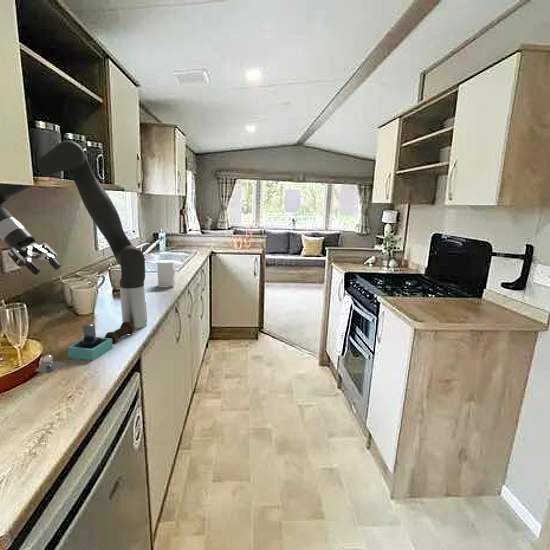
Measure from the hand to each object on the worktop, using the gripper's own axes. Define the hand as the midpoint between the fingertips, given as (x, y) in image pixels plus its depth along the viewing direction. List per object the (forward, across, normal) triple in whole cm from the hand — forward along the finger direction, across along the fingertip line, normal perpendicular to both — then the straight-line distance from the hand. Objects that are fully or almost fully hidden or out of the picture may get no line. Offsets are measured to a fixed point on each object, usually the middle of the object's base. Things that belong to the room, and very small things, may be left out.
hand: (48, 270), depth 123 cm
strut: (+30, -2, +9) cm, 31 cm away
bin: (+30, -2, +10) cm, 32 cm away
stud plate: (+26, -14, +14) cm, 33 cm away
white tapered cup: (+14, +95, +27) cm, 100 cm away
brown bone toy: (+30, +13, +11) cm, 35 cm away
